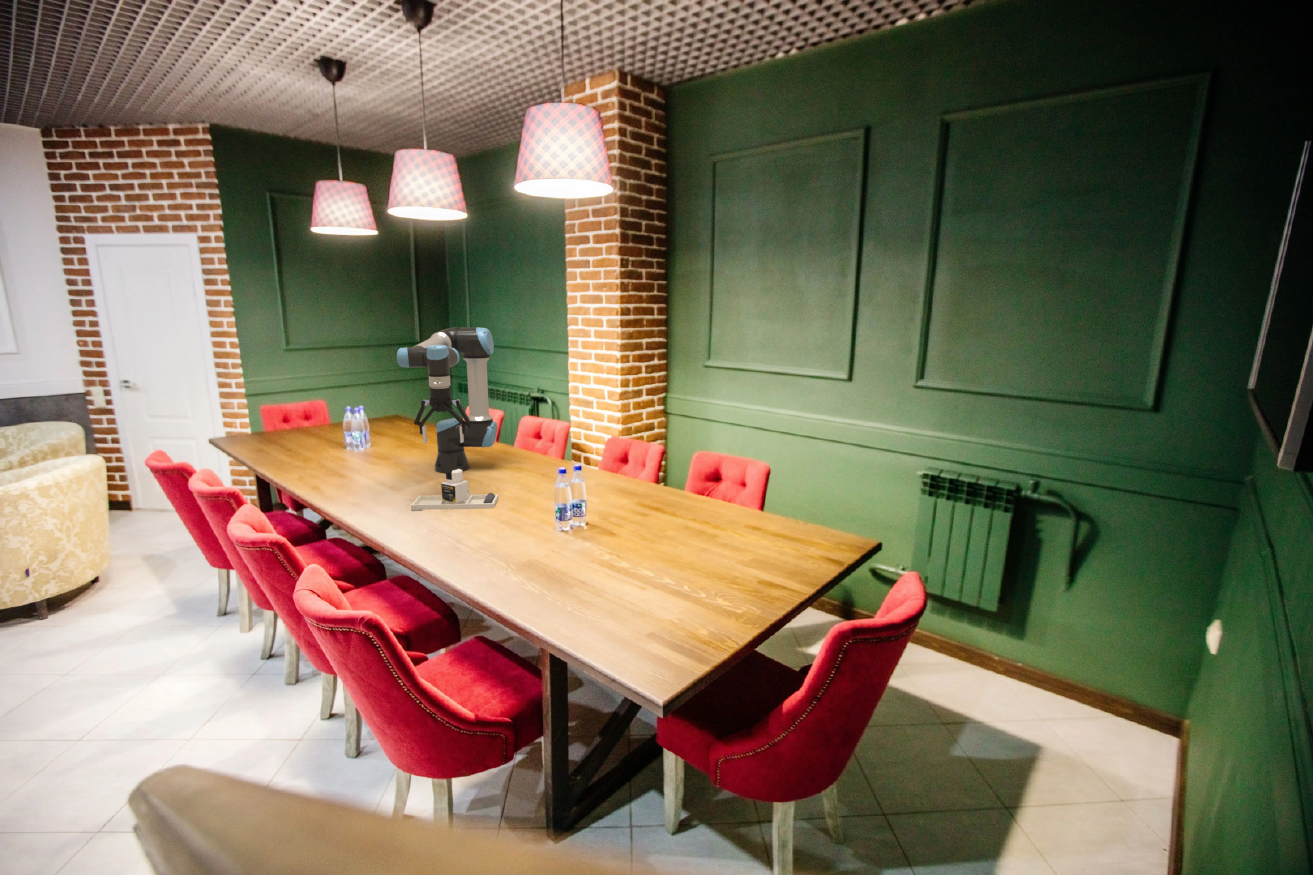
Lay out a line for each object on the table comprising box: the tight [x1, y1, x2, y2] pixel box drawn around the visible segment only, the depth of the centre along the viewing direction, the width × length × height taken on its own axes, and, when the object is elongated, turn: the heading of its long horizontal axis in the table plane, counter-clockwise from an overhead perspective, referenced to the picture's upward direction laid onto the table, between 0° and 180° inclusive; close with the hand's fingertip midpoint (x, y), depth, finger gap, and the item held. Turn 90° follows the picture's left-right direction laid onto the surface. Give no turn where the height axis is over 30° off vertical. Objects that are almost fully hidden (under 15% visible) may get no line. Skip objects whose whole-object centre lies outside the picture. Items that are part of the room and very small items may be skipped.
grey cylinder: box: [483, 492, 495, 503], centre depth 243 cm, size 8×3×3 cm
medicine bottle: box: [440, 468, 470, 503], centre depth 241 cm, size 7×7×12 cm
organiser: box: [410, 493, 499, 512], centre depth 242 cm, size 12×30×2 cm, turn 95°
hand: (443, 442), depth 241 cm, fingers open, 13 cm apart
